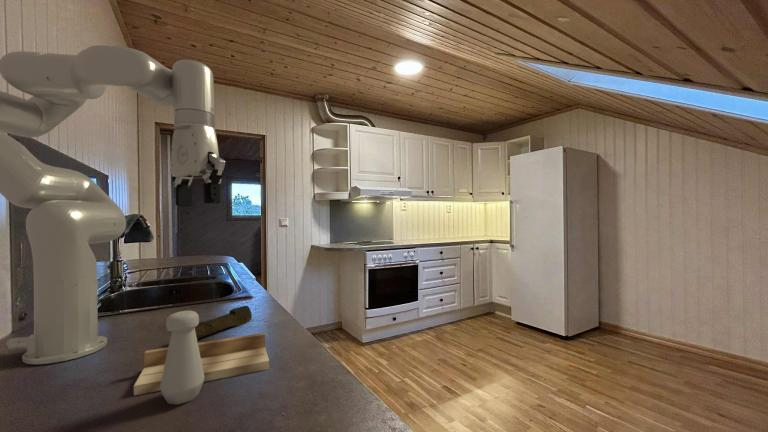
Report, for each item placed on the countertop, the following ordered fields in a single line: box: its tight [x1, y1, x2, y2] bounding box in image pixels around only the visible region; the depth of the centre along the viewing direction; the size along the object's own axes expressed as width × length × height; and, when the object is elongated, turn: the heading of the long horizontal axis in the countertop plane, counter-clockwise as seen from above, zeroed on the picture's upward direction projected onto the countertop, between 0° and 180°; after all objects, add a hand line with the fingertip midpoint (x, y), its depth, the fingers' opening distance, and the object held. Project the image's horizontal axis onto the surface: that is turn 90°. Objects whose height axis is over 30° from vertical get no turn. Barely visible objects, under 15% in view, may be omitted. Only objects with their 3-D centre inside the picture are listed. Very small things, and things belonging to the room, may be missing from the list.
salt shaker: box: [160, 310, 204, 406], centre depth 50 cm, size 6×6×13 cm
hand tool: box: [195, 305, 253, 340], centre depth 80 cm, size 19×4×5 cm, turn 151°
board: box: [133, 332, 270, 396], centre depth 60 cm, size 20×10×4 cm, turn 115°
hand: (197, 204), depth 69 cm, fingers open, 9 cm apart
